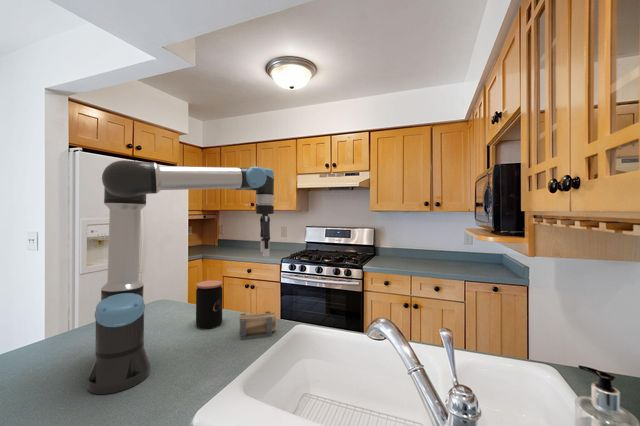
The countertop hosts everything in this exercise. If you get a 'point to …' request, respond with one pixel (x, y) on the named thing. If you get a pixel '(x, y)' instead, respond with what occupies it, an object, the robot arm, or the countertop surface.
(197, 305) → the coffee jar
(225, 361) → the countertop surface
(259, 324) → the block
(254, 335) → the bracket
